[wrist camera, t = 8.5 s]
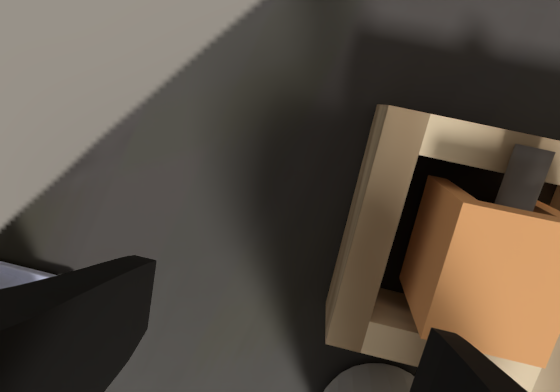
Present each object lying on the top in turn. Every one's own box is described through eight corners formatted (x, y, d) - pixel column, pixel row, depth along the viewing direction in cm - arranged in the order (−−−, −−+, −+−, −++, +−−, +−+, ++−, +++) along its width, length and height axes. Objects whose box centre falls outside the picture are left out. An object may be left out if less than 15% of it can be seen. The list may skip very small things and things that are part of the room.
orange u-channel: (399, 277, 19) (420, 338, 14) (428, 174, 17) (463, 202, 13) (490, 298, 18) (545, 368, 13) (526, 195, 17) (602, 231, 12)
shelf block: (325, 303, 20) (325, 362, 16) (377, 104, 18) (394, 105, 13) (526, 351, 19) (586, 427, 15) (608, 152, 17) (711, 171, 12)
